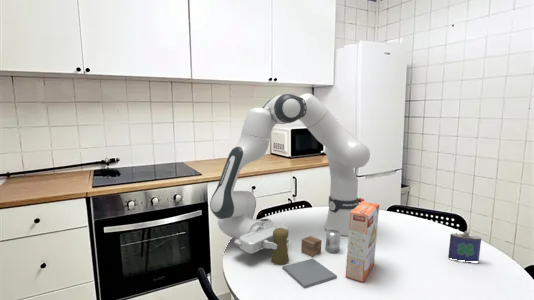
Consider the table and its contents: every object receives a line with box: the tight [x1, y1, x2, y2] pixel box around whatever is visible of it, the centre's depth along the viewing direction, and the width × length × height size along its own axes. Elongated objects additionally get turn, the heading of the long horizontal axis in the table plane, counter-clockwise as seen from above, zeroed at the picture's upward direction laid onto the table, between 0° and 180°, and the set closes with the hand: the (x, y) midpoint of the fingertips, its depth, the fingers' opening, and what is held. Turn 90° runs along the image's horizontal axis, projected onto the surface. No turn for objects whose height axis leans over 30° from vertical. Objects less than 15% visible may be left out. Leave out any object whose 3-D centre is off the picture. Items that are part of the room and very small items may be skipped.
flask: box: [447, 230, 482, 262], centre depth 104 cm, size 9×3×11 cm, turn 74°
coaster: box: [282, 258, 338, 289], centre depth 95 cm, size 12×12×1 cm
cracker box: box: [345, 200, 380, 283], centre depth 96 cm, size 14×6×21 cm, turn 148°
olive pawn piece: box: [270, 228, 289, 266], centre depth 102 cm, size 6×6×11 cm
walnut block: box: [301, 235, 323, 258], centre depth 108 cm, size 5×5×5 cm
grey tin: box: [324, 229, 341, 255], centre depth 110 cm, size 5×5×7 cm
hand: (282, 244), depth 101 cm, fingers closed on olive pawn piece, 4 cm apart
